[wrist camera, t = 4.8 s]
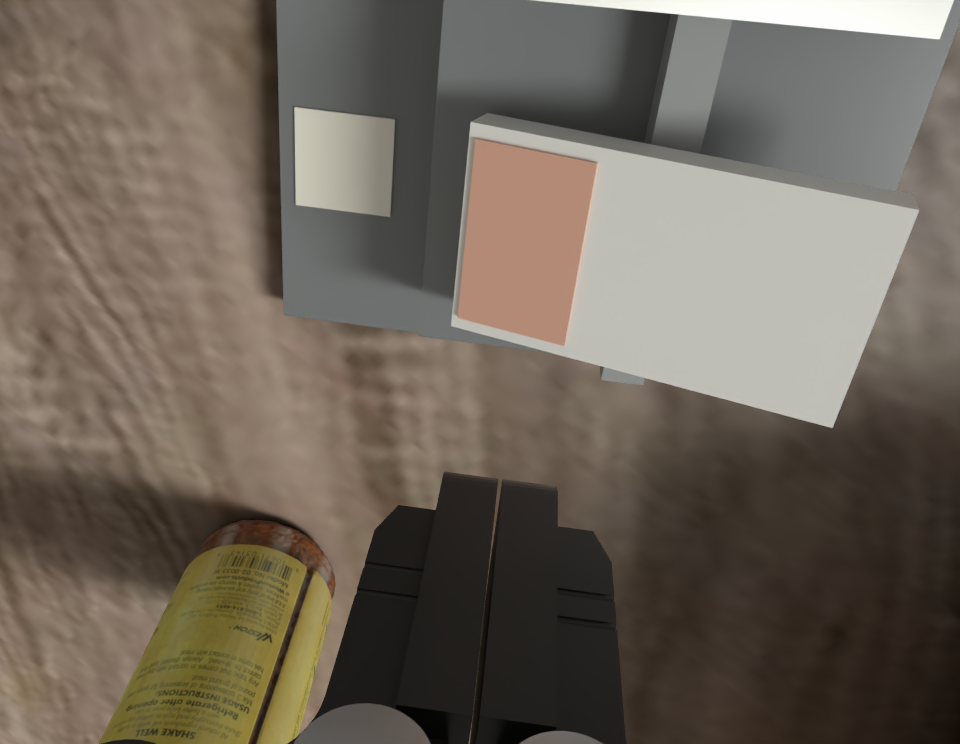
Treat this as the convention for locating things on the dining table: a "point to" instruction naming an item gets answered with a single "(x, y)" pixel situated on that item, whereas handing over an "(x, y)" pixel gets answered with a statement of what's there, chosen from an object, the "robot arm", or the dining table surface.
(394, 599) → the robot arm
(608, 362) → the switch
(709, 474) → the dining table surface
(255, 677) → the sauce bottle
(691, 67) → the switch box
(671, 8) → the switch
